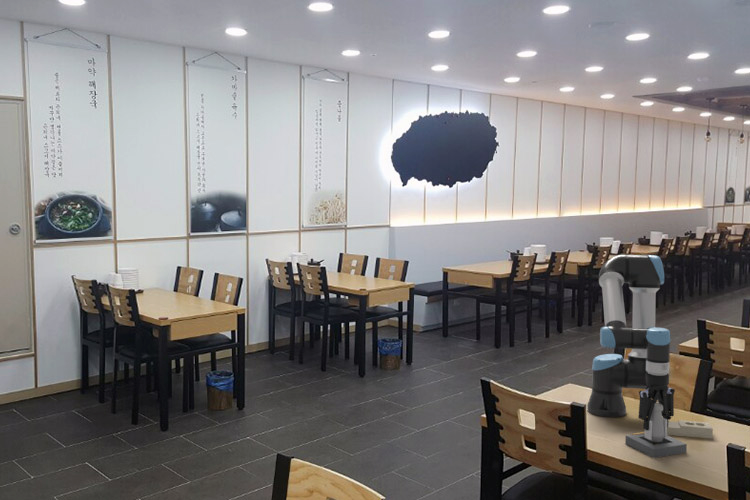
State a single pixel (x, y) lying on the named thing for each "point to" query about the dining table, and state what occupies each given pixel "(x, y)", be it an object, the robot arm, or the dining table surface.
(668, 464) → the dining table surface
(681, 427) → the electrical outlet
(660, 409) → the salt shaker
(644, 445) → the caddy block
